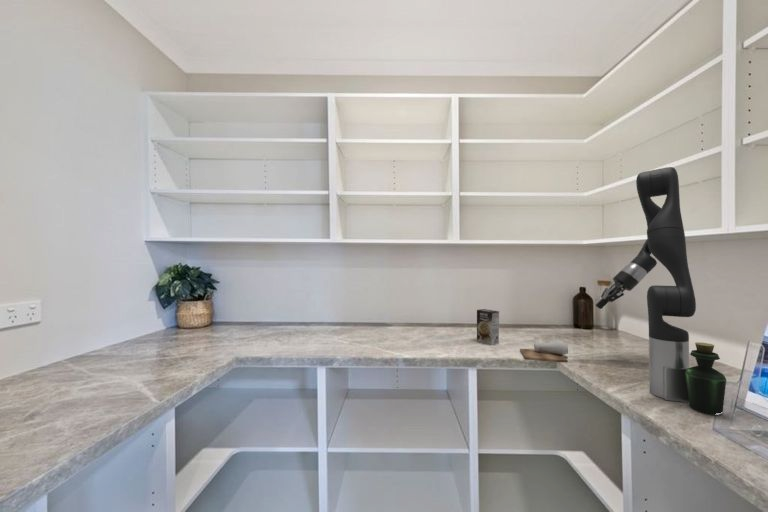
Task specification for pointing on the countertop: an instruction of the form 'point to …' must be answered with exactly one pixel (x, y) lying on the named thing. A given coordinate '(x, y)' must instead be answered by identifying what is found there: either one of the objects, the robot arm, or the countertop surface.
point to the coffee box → (488, 326)
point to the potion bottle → (705, 381)
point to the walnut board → (542, 355)
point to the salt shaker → (552, 347)
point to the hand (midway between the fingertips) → (597, 307)
